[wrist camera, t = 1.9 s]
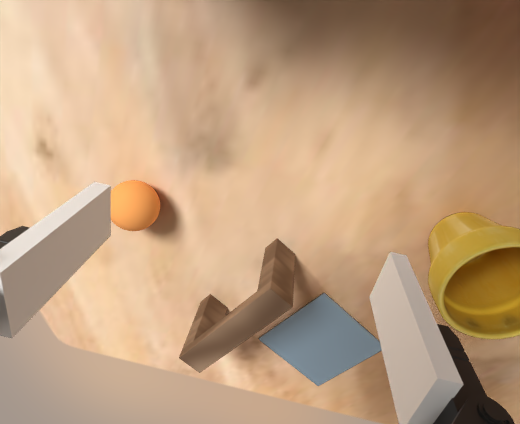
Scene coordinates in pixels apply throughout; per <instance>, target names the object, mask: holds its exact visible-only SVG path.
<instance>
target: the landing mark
mask: <svg viewBox="0 0 520 424" xmlns="http://www.w3.org/2000/svg"><path fill="white" fill-rule="evenodd" d="M259 340H260V341H261V342H263V343H264V344H265V345H266V346H268V347H269V348H270V349H272V350H273V351H274V352H275V353H277V354H278V355H279V356H280V357H282V358H283V359H284V360H286V361H287V362H288V363H289V364H291V365H292V366H293V367H294V368H296V369H297V370H298V371H300V372H301V373H302V374H303V375H305V376H306V377H307V378H308V379H310V380H311V381H312V382H314V383H315V384H316V385H317V386H319V385H321V384H323V383H325V382H326V381H328V380H330V379H332V378H334V377H335V376H337V375H339V374H341V373H342V372H344V371H346V370H348V369H350V368H351V367H353V366H355V365H357V364H359V363H360V362H362V361H364V360H366V359H367V358H369V357H371V356H373V355H375V354H376V353H378V352H380V351H382V349H381V345H380V341H379V340H377V339H376V338H375V337H374V336H373V335H372V334H371V333H370V332H368V331H367V330H366V329H365V328H364V327H363V326H362V325H360V324H359V323H358V322H357V321H356V320H355V319H354V318H352V317H351V316H350V315H349V314H348V313H347V312H346V311H345V310H343V309H342V308H341V307H340V306H339V305H338V304H337V303H335V302H334V301H333V300H332V299H331V298H330V297H329V296H328V295H326V294H325V293H323V294H322V295H320V296H319V297H317V298H316V299H314V300H313V301H312V302H310V303H309V304H307V305H306V306H304V307H303V308H302V309H300V310H299V311H297V312H296V313H294V314H293V315H291V316H290V317H289V318H287V319H286V320H284V321H283V322H281V323H280V324H278V325H277V326H276V327H274V328H273V329H271V330H270V331H268V332H267V333H266V334H264V335H263V336H261V337H260V338H259Z"/></svg>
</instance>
